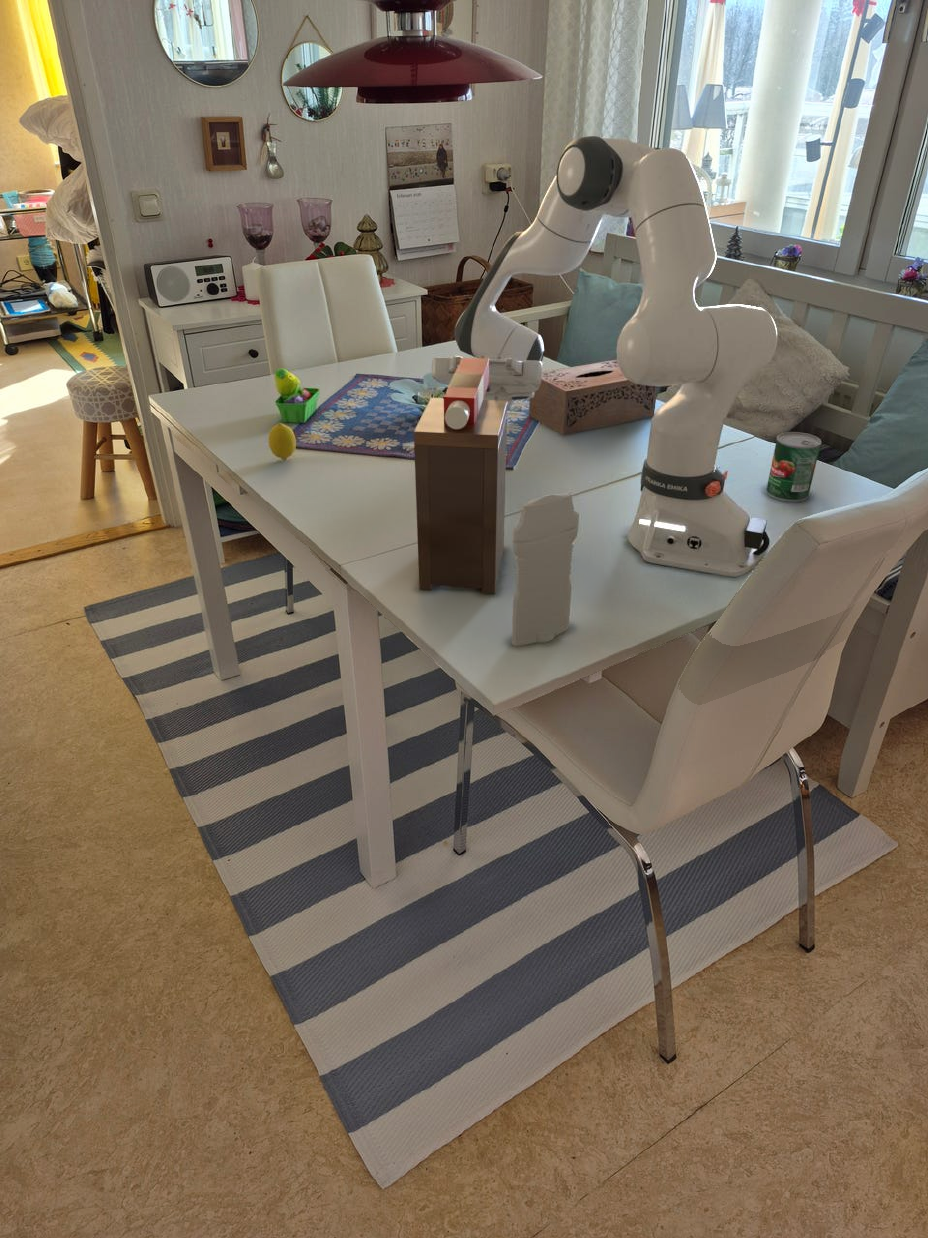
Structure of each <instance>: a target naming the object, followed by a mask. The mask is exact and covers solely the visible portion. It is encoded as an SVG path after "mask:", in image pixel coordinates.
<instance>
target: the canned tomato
mask: <svg viewBox="0 0 928 1238" xmlns="http://www.w3.org/2000/svg"><path fill="white" fill-rule="evenodd" d="M821 445H822V440H821V439H820V438H819V437H818V436H816V435H813V434H811V433H805V432H799V431H786V432H782V433H780V434H778V435H777V436H776V442H775V446H774V451H773V455H772V461H771V464H770V465H771V466H770V470H769V474H768V479H767V484H766V485H767V486H766V488H765V492H766V495H768V496H769V497H770V498H773V499H775V500H778V501H781V502H790V503H798V502H803V501H806V500H807V499H808V498H809V496H810V490H811V486H812V483H813V478H814V474H815V470H816V466H817V461H818V458H819V453H820V450H821Z"/></svg>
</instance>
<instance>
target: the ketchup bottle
mask: <svg viewBox="0 0 928 1238" xmlns="http://www.w3.org/2000/svg"><path fill="white" fill-rule="evenodd" d="M488 384H489V359H488V358H477V357H462V359H461V361H460V363H459V365H458V368H457V370H456V372H455V373H454V376H453V378H452V380H451V382H450V384H449V385H447V389H446V391H445V393H444V395H443V398H444V424H447V425H448V426H449V427H451V428H453V429H461V428H463V427H464V426H465V425H474V424H475V421H476V419H477V416H478V414H479V411H480V408H481V405H482V402H483V398H484V395H485V392H486V390H487V387H488Z"/></svg>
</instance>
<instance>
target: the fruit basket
mask: <svg viewBox="0 0 928 1238" xmlns="http://www.w3.org/2000/svg"><path fill="white" fill-rule="evenodd" d="M274 380H275V387H276V391H277V393H278V394H279V397H278V398H277V399H276V400H275V401H274V403H275V406H276V407H277V409H278V411H279V413H280V416H281V418H282V421H283V422H284V423H298V424H299V423H301V424H304V423H306V422H307V420H309V419H310V417H311V416H312V415H313V414H314V413H315V412H316V411H317V405H318V398H319V394H320V390H321V389H320V388H317V387H302V386H301V387H300V383H301V381H300V380H299V378H298V377H297V376H296V375H294V374H293V373H291V372H290V371H288V370H287V369H285V368H283V367H281V368H277V369H275V372H274Z"/></svg>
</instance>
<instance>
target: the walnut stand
mask: <svg viewBox="0 0 928 1238" xmlns="http://www.w3.org/2000/svg"><path fill="white" fill-rule="evenodd" d="M507 431H508V410H507V401H497V400H483V402H482V405H481V408H480V411H479V414H478V416H477V419H476V421H475V424H474V425H465V426H464V427H463V428H461V429H453V428H451V427H449V426H448V425H447V424H444V397H430V399H429V401H428V402H427V405H426V407H425V409H424V411H423V412H422V414H421V417H420V419H419V420H418V422H417V424H416V426H415V428H414V430H413V446H414V447H413V448H414V474H415V476H414V477H415V478H414V479H415V503H416V505H415V507H416V533H417V535H416V536H417V561H418V562H417V563H418V589H419V591H432V590H433V588H434V586H443V587H457V588H458V587H459V588H473V589H474V588H475V589H482V594H483V595H484V594H485V595H496V591H497V585H498V581H499V575H500V572H501V571H500V570H501V565H502V560H503V556H504V550H505V549H504V548H505V513H506V511H505V509H506V479H507V477H506V476H507V473H506V472H507V471H506V470H507V435H508V432H507Z"/></svg>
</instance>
